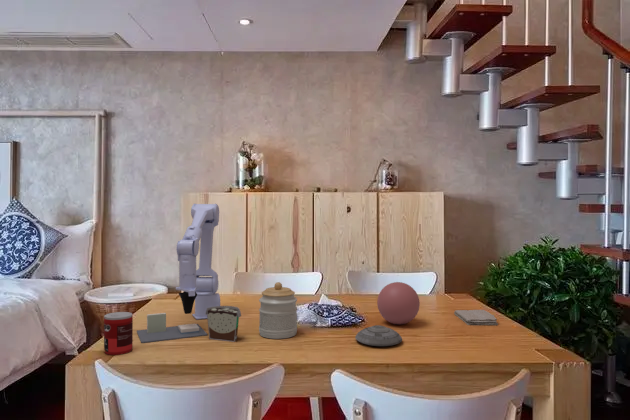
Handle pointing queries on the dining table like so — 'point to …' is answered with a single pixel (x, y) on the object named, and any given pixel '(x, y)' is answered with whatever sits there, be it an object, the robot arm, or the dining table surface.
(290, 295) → the jar
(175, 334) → the mat
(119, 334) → the canned food
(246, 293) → the dining table surface
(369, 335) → the flying saucer
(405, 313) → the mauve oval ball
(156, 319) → the tile sage
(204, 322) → the dining table surface
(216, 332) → the food container
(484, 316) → the washcloth
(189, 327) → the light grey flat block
